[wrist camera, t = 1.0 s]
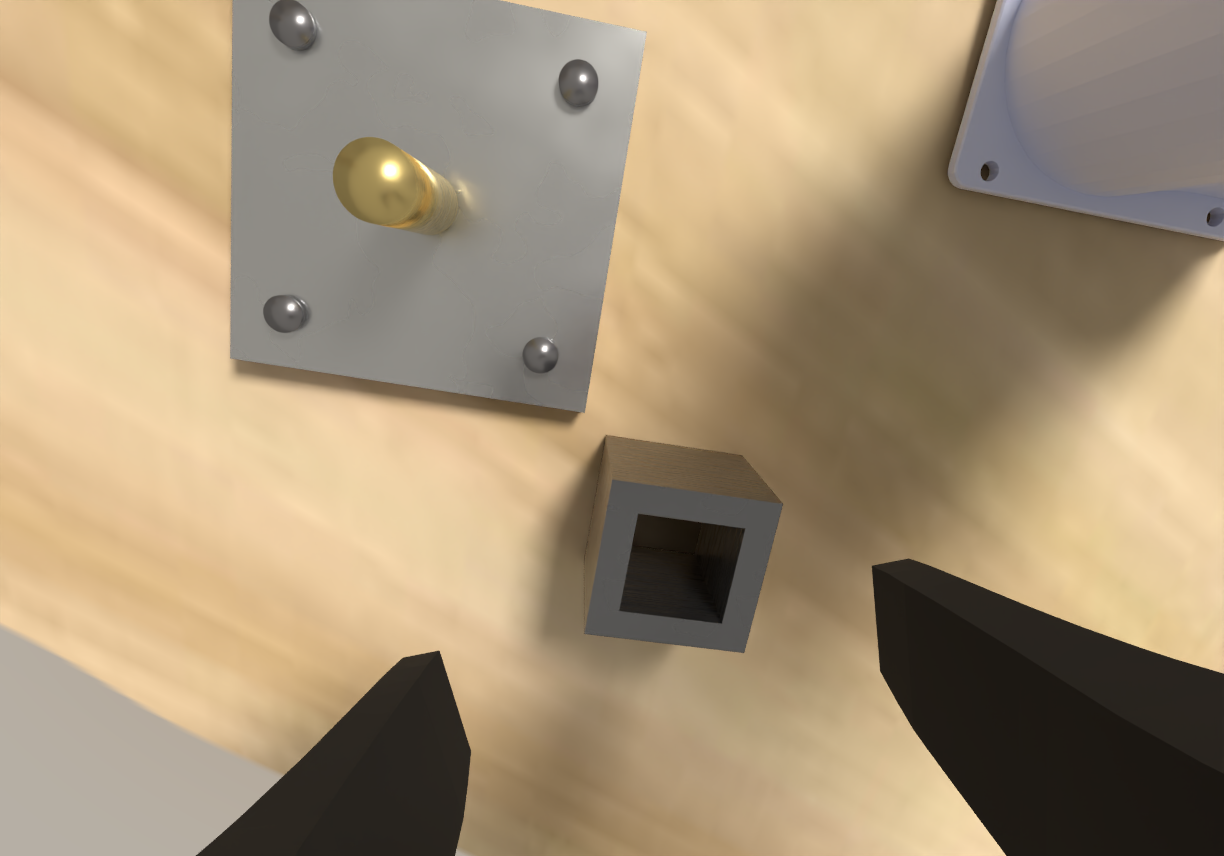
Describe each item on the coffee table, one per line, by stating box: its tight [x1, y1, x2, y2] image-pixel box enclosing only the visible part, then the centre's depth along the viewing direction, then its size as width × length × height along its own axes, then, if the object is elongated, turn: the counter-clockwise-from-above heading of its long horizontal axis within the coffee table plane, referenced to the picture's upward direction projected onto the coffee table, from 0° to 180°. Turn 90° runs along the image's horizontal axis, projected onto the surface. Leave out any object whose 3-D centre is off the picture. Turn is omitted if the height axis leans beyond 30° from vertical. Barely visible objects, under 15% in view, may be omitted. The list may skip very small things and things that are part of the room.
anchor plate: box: [230, 0, 647, 413], centre depth 14 cm, size 10×10×5 cm
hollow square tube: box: [584, 435, 783, 653], centre depth 17 cm, size 4×4×4 cm
